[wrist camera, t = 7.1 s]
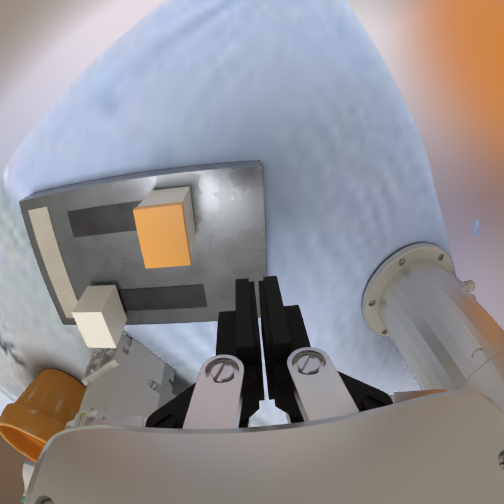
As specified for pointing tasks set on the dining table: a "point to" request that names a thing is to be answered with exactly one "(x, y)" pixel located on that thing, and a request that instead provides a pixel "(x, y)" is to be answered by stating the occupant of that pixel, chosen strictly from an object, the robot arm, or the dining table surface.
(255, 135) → the dining table surface
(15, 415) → the flower pot
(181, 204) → the lever
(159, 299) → the slotted slider board
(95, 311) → the on lever
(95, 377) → the circuit breaker
